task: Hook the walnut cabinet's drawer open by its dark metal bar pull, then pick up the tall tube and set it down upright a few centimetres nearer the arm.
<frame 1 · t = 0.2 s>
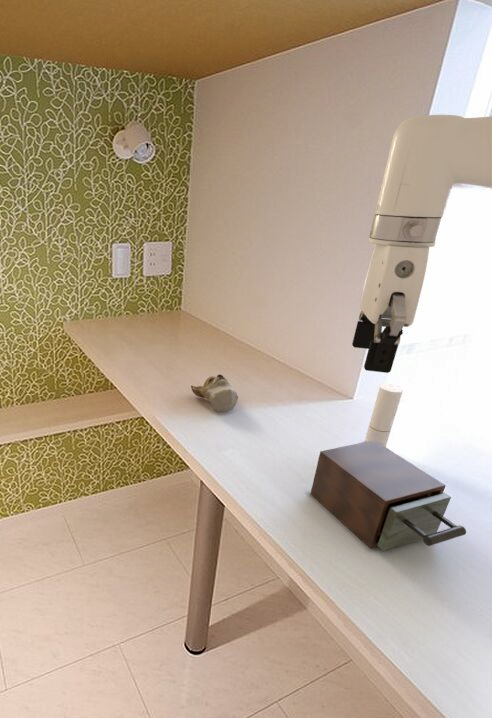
hand: (369, 358, 62), 30 cm above the table, tool pointing down, fingers open, 9 cm apart
drawer: (394, 506, 72), point 5 cm above the table, slide at 0.5 cm
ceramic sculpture: (216, 403, 116), on the table
tube: (373, 449, 97), on the table
cabinet: (365, 511, 78), on the table
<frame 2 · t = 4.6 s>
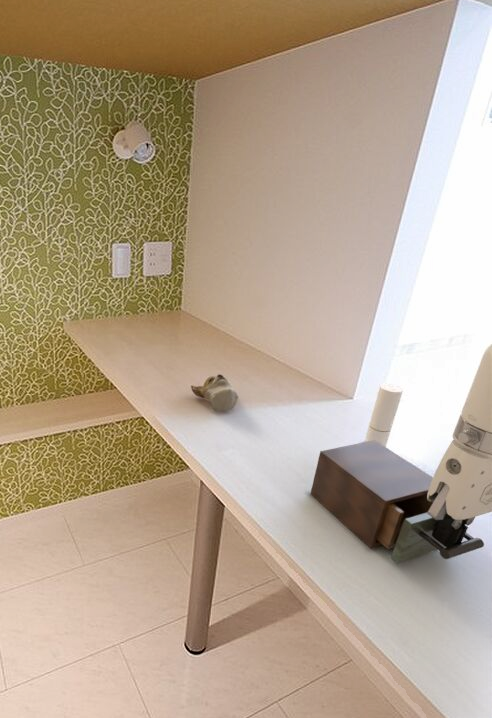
hand: (444, 541, 64), 5 cm above the table, tool pointing down, fingers closed
drawer: (408, 517, 70), point 5 cm above the table, slide at 3.2 cm, touching gripper
everything else where it was.
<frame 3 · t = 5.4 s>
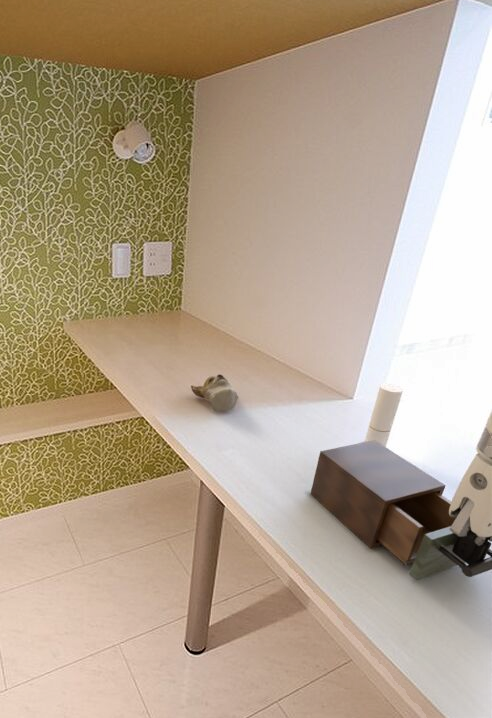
hand: (466, 557, 61), 5 cm above the table, tool pointing down, fingers closed
drawer: (426, 531, 67), point 5 cm above the table, slide at 6.4 cm, touching gripper
everything else where it was.
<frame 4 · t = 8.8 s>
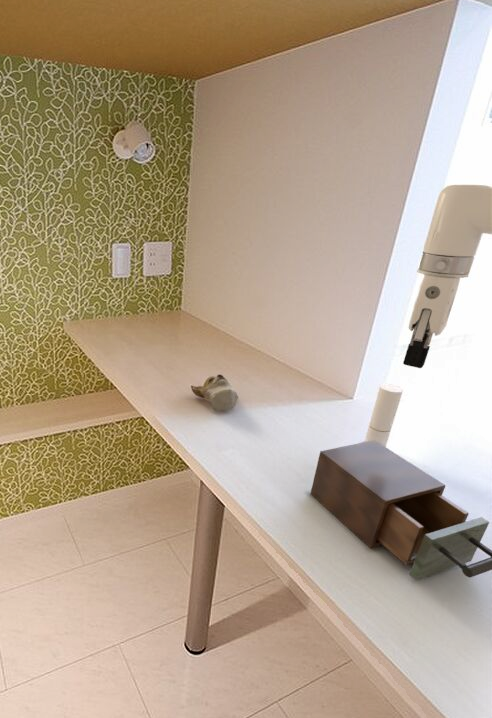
hand: (413, 365, 82), 23 cm above the table, tool pointing down, fingers closed
drawer: (426, 531, 67), point 5 cm above the table, slide at 6.5 cm
everything else where it was.
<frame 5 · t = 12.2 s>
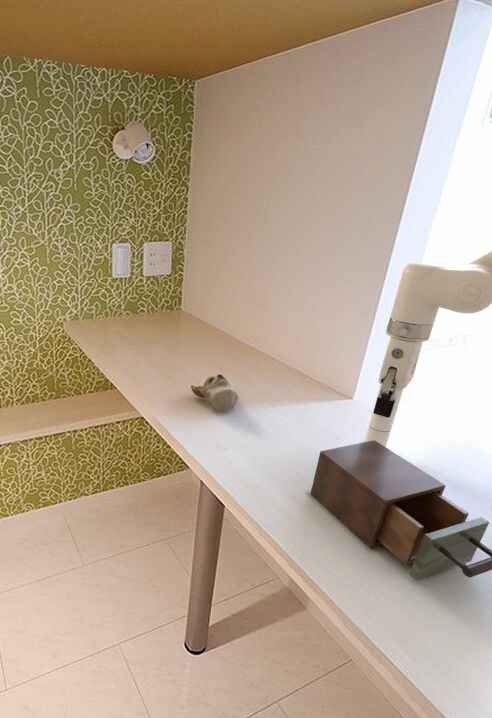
hand: (384, 410, 93), 10 cm above the table, tool pointing down, fingers closed on tube, 4 cm apart
tube: (373, 449, 97), on the table, touching gripper
everything else where it was.
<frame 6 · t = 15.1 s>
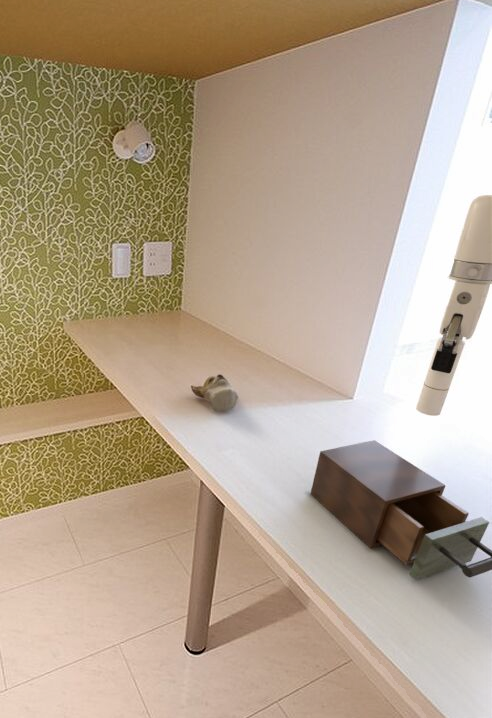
hand: (443, 366, 85), 21 cm above the table, tool pointing down, fingers closed on tube, 4 cm apart
tube: (427, 411, 89), point 12 cm above the table, touching gripper
everything else where it was.
when the fingers open (10 cm above the table, at t = 18.1 s): tube stays where it is, on the table.
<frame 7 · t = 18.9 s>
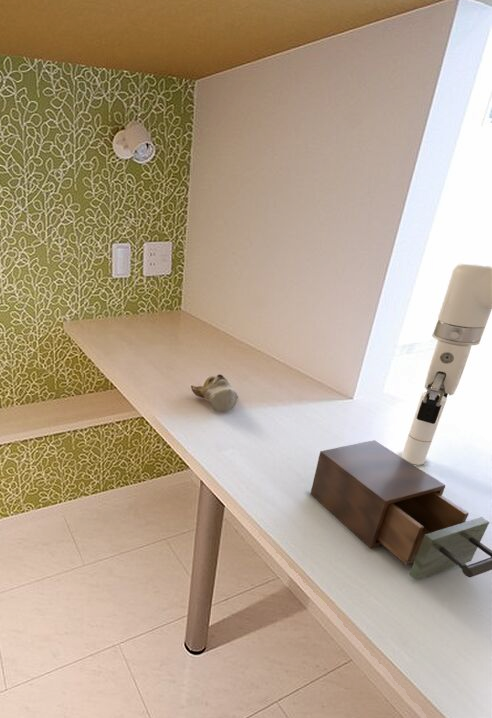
hand: (430, 412, 89), 11 cm above the table, tool pointing down, fingers open, 9 cm apart
tube: (412, 459, 94), on the table
everything else where it was.
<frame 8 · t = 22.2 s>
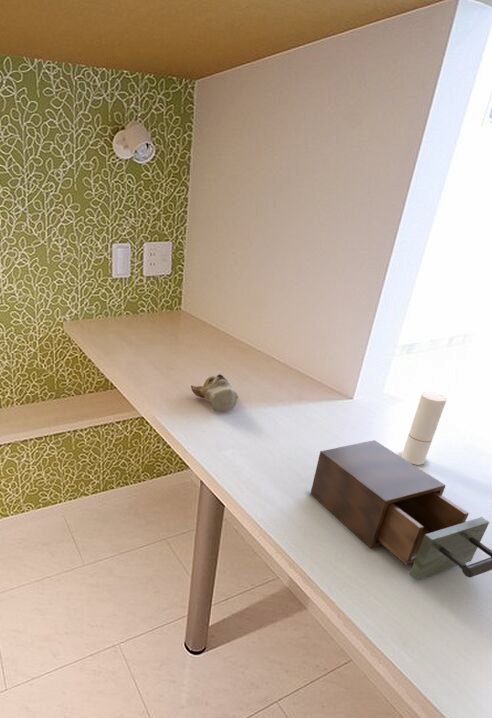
nothing on the table moved.
at the end: drawer slide at 6.5 cm; tube 0.1 cm from the target spot, on the table; tube tilted 0° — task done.
